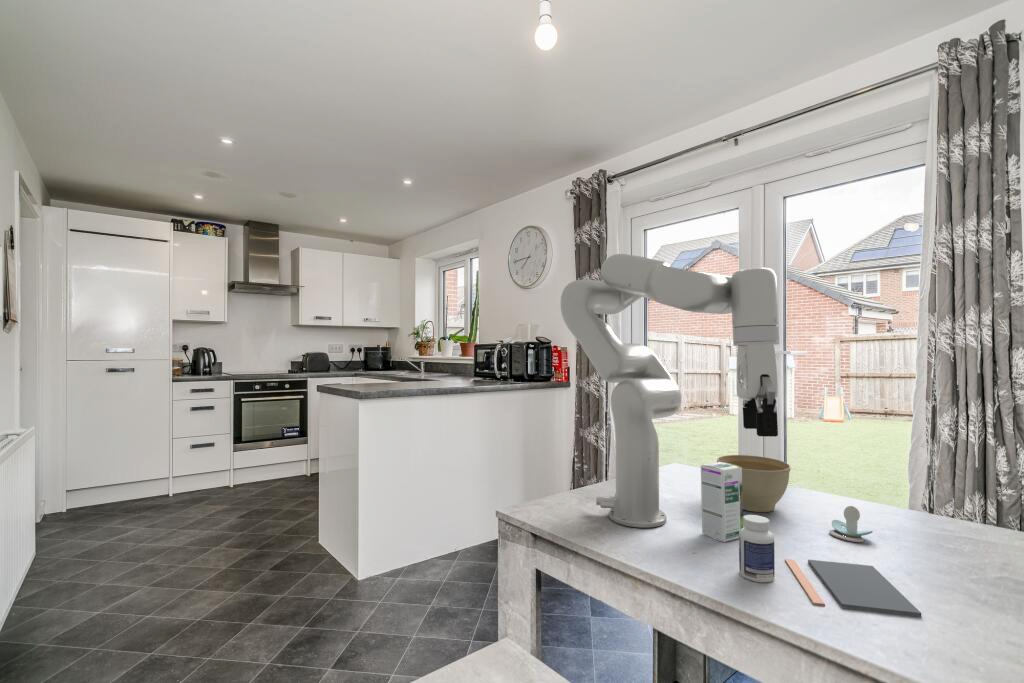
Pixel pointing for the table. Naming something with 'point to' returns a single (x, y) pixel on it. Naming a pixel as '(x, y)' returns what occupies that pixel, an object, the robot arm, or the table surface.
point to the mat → (862, 588)
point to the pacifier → (849, 526)
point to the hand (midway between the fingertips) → (759, 432)
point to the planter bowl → (760, 480)
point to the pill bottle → (756, 549)
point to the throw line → (805, 583)
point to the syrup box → (721, 500)
